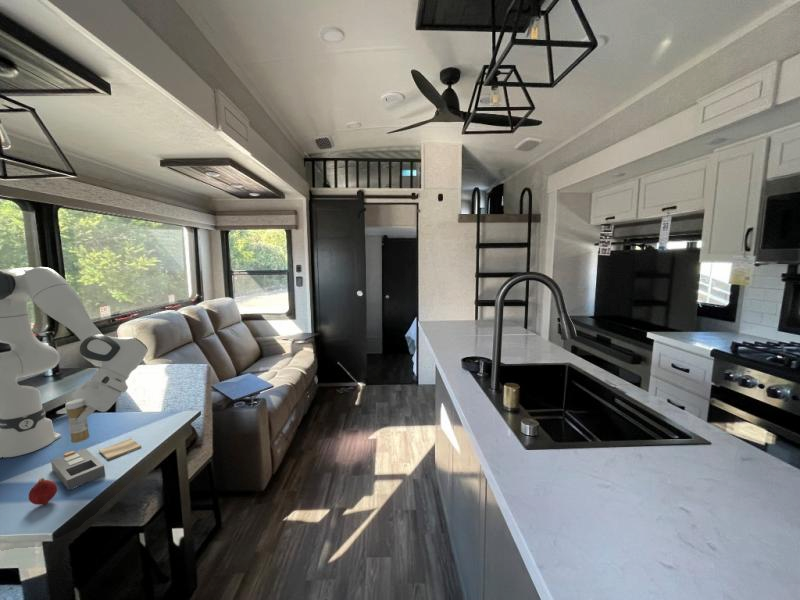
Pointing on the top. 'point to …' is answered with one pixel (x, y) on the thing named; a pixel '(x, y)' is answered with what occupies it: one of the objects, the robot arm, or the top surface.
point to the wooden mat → (119, 449)
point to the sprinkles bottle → (76, 427)
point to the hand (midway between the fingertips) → (74, 419)
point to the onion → (42, 492)
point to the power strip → (77, 468)
